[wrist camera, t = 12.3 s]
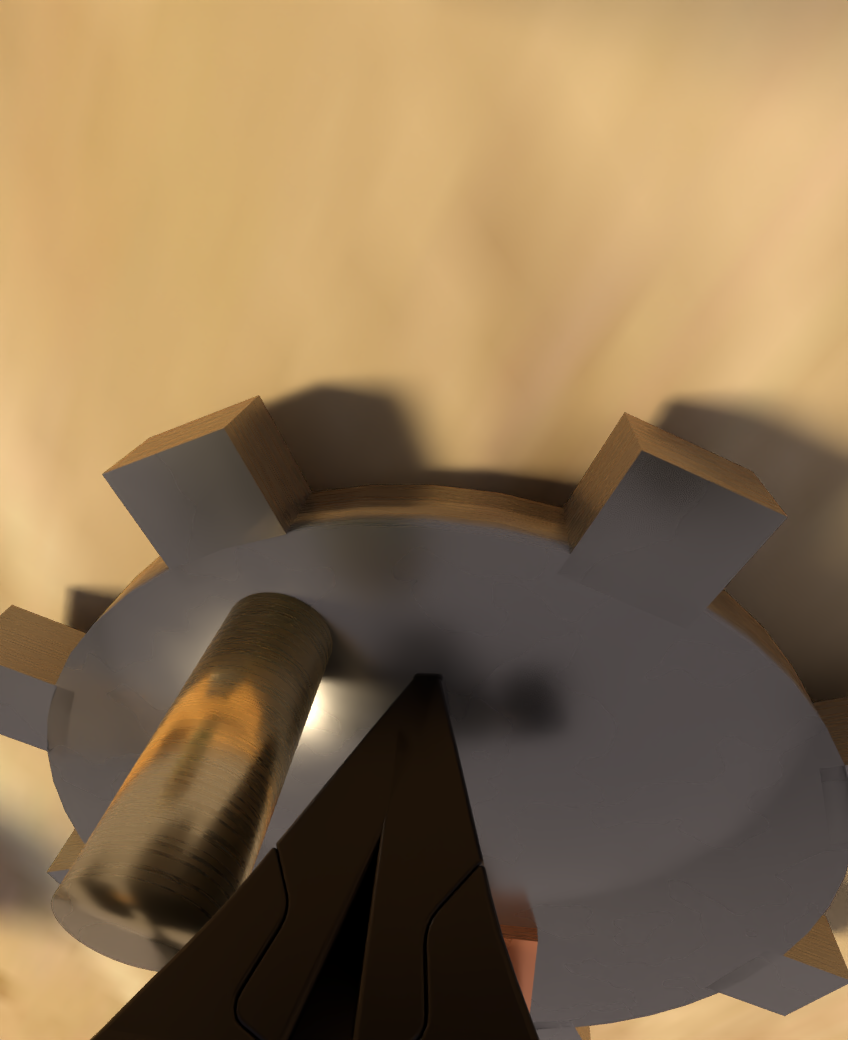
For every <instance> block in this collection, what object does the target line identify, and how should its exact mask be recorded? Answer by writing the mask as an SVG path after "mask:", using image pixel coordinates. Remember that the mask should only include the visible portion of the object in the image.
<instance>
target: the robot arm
mask: <svg viewBox="0 0 848 1040" xmlns="http://www.w3.org/2000/svg"><path fill="white" fill-rule="evenodd" d="M276 847H277V849H276V848H272V849H271V850H270V851H269V852H268V854H267V855H266V856H265V857H264V858H263V860H262V861H261V862H260V863H259V864H258V866H257V867H256V868H255V869H254V870H253V872H252V873H251V874H250V875H249V876H248V877H247V878H246V880H245V881H244V882H243V883H242V884H241V885H240V886H239V888H238V889H237V890H236V891H235V892H234V893H233V894H232V896H231V897H230V898H229V899H228V900H227V901H226V903H225V904H224V905H223V906H222V907H221V908H220V909H219V910H218V911H217V912H216V913H215V914H214V915H213V916H212V917H211V918H210V919H209V920H208V922H207V923H206V924H205V925H204V926H203V927H202V928H201V929H200V930H199V931H198V932H197V933H196V934H195V935H194V936H193V937H192V938H191V939H190V940H189V941H188V942H187V943H186V944H185V945H184V946H183V947H182V948H181V949H180V950H179V951H178V952H177V953H176V954H175V955H174V957H173V958H172V959H171V960H170V961H169V962H168V963H167V964H166V965H165V966H164V967H163V968H162V969H161V970H160V971H159V972H158V973H157V974H156V975H155V976H154V977H153V978H152V979H151V980H150V981H149V982H148V983H147V984H146V985H145V986H144V987H143V988H142V989H141V990H140V991H139V992H138V993H137V994H136V995H135V996H134V997H133V998H132V999H131V1000H130V1001H129V1002H128V1003H127V1004H126V1005H125V1006H124V1007H123V1008H122V1009H121V1010H120V1011H119V1012H118V1013H117V1014H116V1015H115V1016H114V1017H113V1018H112V1019H111V1020H110V1021H109V1022H108V1023H107V1024H106V1025H105V1026H104V1027H103V1028H102V1029H101V1030H100V1031H99V1032H98V1033H97V1034H96V1035H94V1036H93V1037H92V1038H91V1039H90V1040H540V1039H539V1037H538V1034H537V1031H536V1029H535V1026H534V1023H533V1020H532V1018H531V1015H530V1012H529V1010H528V1007H527V1004H526V1002H525V999H524V996H523V994H522V991H521V988H520V985H519V983H518V980H517V977H516V974H515V971H514V968H513V965H512V962H511V959H510V956H509V953H508V950H507V947H506V944H505V941H504V938H503V935H502V931H501V927H500V924H499V920H498V916H497V913H496V909H495V905H494V901H493V898H492V894H491V889H490V885H489V881H488V876H487V872H486V868H485V867H484V860H483V856H482V852H481V847H480V843H479V839H478V834H477V830H476V826H475V821H474V817H473V813H472V808H471V804H470V800H469V795H468V791H467V787H466V782H465V778H464V774H463V769H462V765H461V761H460V756H459V752H458V748H457V744H456V739H455V735H454V731H453V726H452V722H451V718H450V706H449V699H448V692H447V685H446V679H445V676H444V675H443V674H442V673H426V672H418V673H416V674H414V676H413V678H412V680H411V681H410V683H409V684H408V685H407V686H406V687H405V689H404V690H403V691H402V692H401V693H400V695H399V696H398V697H397V698H396V699H395V701H394V702H393V703H392V704H391V706H390V707H389V708H388V709H387V710H386V712H385V713H384V714H383V715H382V716H381V718H380V719H379V720H378V721H377V722H376V724H375V725H374V726H373V727H372V728H371V730H370V731H369V732H368V733H367V734H366V736H365V737H364V738H363V739H362V740H361V742H360V743H359V744H358V745H357V747H356V748H355V749H354V750H353V751H352V753H351V754H350V755H349V756H348V757H347V759H346V760H345V761H344V762H343V763H342V765H341V766H340V767H339V768H338V769H337V771H336V772H335V773H334V774H333V775H332V777H331V778H330V779H329V780H328V781H327V783H326V784H325V785H324V786H323V788H322V789H321V790H320V791H319V792H318V794H317V795H316V796H315V797H314V798H313V800H312V801H311V802H310V803H309V804H308V806H307V807H306V808H305V809H304V810H303V812H302V813H301V814H300V815H299V816H298V818H297V819H296V820H295V821H294V823H293V824H292V825H291V826H290V827H289V829H288V830H287V831H286V832H285V833H284V835H283V836H282V837H281V838H280V839H279V841H278V842H277V843H276Z"/></svg>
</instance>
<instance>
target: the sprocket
mask: <svg viewBox="0 0 848 1040" xmlns="http://www.w3.org/2000/svg"><path fill="white" fill-rule="evenodd" d="M102 475H103V476H104V478H105V479H106V480H107V482H108V483H109V485H110V486H111V487H112V489H113V490H114V492H115V493H116V494H117V496H118V497H119V499H120V500H121V501H122V503H123V504H124V506H125V507H126V509H127V510H128V511H129V513H130V514H131V516H132V517H133V518H134V520H135V521H136V523H137V524H138V525H139V527H140V528H141V530H142V531H143V532H144V534H145V535H146V537H147V538H148V539H149V541H150V542H151V544H152V545H153V547H154V548H155V549H156V551H157V552H158V554H159V555H160V556H159V557H158V558H157V559H156V560H155V561H154V562H152V563H151V564H150V565H149V566H148V567H147V568H146V569H144V570H143V571H142V572H141V573H140V574H139V575H137V576H136V577H135V578H134V579H133V581H132V582H131V583H130V584H129V585H128V586H127V587H126V588H125V589H124V591H123V592H122V593H121V594H120V595H119V596H118V597H117V598H116V599H115V601H114V602H113V603H112V604H111V605H110V606H109V607H108V608H107V609H106V611H105V612H104V613H103V614H102V615H101V616H100V617H99V618H98V619H97V621H96V622H95V623H94V624H93V625H92V627H91V628H90V629H89V630H88V632H87V633H84V632H82V631H79V630H76V629H74V628H71V627H69V626H66V625H63V624H61V623H58V622H55V621H53V620H50V619H48V618H45V617H42V616H40V615H37V614H35V613H32V612H29V611H27V610H24V609H21V608H19V607H16V606H14V605H11V606H10V607H9V608H8V609H7V610H6V611H5V612H4V613H2V614H1V615H0V734H1V735H4V736H7V737H10V738H12V739H15V740H18V741H21V742H23V743H26V744H29V745H32V746H35V747H37V748H40V749H43V750H46V751H47V752H48V757H49V762H50V767H51V772H52V777H53V782H54V784H55V787H56V789H57V792H58V794H59V797H60V800H61V802H62V805H63V807H64V810H65V812H66V814H67V815H68V817H69V819H70V821H71V822H72V824H73V826H74V827H75V829H74V831H73V833H72V834H71V836H70V837H69V839H68V840H67V842H66V843H65V845H64V846H63V848H62V849H61V851H60V853H59V854H58V856H57V857H56V859H55V860H54V862H53V863H52V865H51V866H50V868H49V869H48V871H47V873H48V874H49V875H50V876H51V877H53V878H54V879H55V880H56V881H57V882H58V883H59V884H60V886H59V887H58V889H57V890H56V892H55V894H54V895H53V898H52V910H53V913H54V915H55V917H56V919H57V920H58V922H59V923H60V925H61V926H62V927H63V928H64V929H65V930H66V931H67V932H68V933H69V934H70V935H72V936H73V937H74V938H75V939H77V940H78V941H79V942H81V943H83V944H84V945H86V946H87V947H89V948H91V949H92V950H94V951H96V952H98V953H100V954H102V955H104V956H106V957H109V958H111V959H113V960H116V961H119V962H121V963H124V964H127V965H131V966H134V967H138V968H142V969H146V970H151V971H157V972H159V971H160V970H161V969H162V968H163V967H164V966H165V965H166V964H167V963H168V962H169V961H170V960H171V959H172V958H173V957H174V955H175V954H176V953H177V952H178V951H179V950H180V949H181V948H182V947H183V946H184V945H185V944H186V943H187V942H188V941H189V940H190V939H191V938H192V937H193V936H194V935H195V934H196V933H197V932H198V931H199V930H200V929H201V928H202V927H203V926H204V925H205V924H206V923H207V922H208V920H209V919H210V918H211V917H212V916H213V915H214V914H215V913H216V912H217V911H218V910H219V909H220V908H221V907H222V906H223V905H224V904H225V903H226V901H227V900H228V899H229V898H230V897H231V896H232V894H233V893H234V892H235V891H236V890H237V889H238V888H239V886H240V885H241V884H242V883H243V882H244V881H245V880H246V878H247V877H248V876H249V875H250V874H251V873H252V872H253V870H254V869H255V868H256V867H257V866H258V864H259V863H260V862H261V861H262V860H263V858H264V857H265V856H266V855H267V854H268V852H269V851H270V850H271V849H272V848H276V849H277V847H276V843H277V842H278V841H279V839H280V838H281V837H282V836H283V835H284V833H285V832H286V831H287V830H288V829H289V827H290V826H291V825H292V824H293V823H294V821H295V820H296V819H297V818H298V816H299V815H300V814H301V813H302V812H303V810H304V809H305V808H306V807H307V806H308V804H309V803H310V802H311V801H312V800H313V798H314V797H315V796H316V795H317V794H318V792H319V791H320V790H321V789H322V788H323V786H324V785H325V784H326V783H327V781H328V780H329V779H330V778H331V777H332V775H333V774H334V773H335V772H336V771H337V769H338V768H339V767H340V766H341V765H342V763H343V762H344V761H345V760H346V759H347V757H348V756H349V755H350V754H351V753H352V751H353V750H354V749H355V748H356V747H357V745H358V744H359V743H360V742H361V740H362V739H363V738H364V737H365V736H366V734H367V733H368V732H369V731H370V730H371V728H372V727H373V726H374V725H375V724H376V722H377V721H378V720H379V719H380V718H381V716H382V715H383V714H384V713H385V712H386V710H387V709H388V708H389V707H390V706H391V704H392V703H393V702H394V701H395V699H396V698H397V697H398V696H399V695H400V693H401V692H402V691H403V690H404V689H405V687H406V686H407V685H408V684H409V683H410V681H411V680H412V678H413V676H414V674H416V673H418V672H426V673H442V674H443V675H444V676H445V679H446V685H447V692H448V699H449V706H450V718H451V722H452V726H453V731H454V735H455V739H456V744H457V748H458V752H459V756H460V761H461V765H462V769H463V774H464V778H465V782H466V787H467V791H468V795H469V800H470V804H471V808H472V813H473V817H474V821H475V826H476V830H477V834H478V839H479V843H480V847H481V852H482V856H483V860H484V867H485V868H486V872H487V876H488V881H489V885H490V889H491V894H492V898H493V901H494V905H495V909H496V913H497V916H498V920H499V924H500V927H501V931H502V935H503V938H504V941H505V944H506V947H507V950H508V953H509V956H510V959H511V962H512V965H513V968H514V971H515V974H516V977H517V980H518V983H519V985H520V988H521V991H522V994H523V996H524V999H525V1002H526V1004H527V1007H528V1010H529V1012H530V1015H531V1018H532V1020H533V1023H534V1026H535V1029H536V1031H537V1034H538V1037H539V1039H540V1040H591V1039H590V1028H589V1026H591V1025H599V1024H608V1023H614V1022H619V1021H625V1020H630V1019H635V1018H640V1017H645V1016H650V1015H653V1014H657V1013H660V1012H664V1011H667V1010H671V1009H675V1008H678V1007H682V1006H685V1005H688V1004H691V1003H693V1002H696V1001H698V1000H701V999H704V998H706V997H709V996H712V995H714V994H717V993H722V994H725V995H728V996H730V997H733V998H736V999H739V1000H741V1001H744V1002H747V1003H750V1004H753V1005H755V1006H758V1007H761V1008H764V1009H767V1010H769V1011H772V1012H775V1013H778V1014H780V1015H783V1016H786V1015H788V1014H789V1013H791V1012H793V1011H795V1010H797V1009H799V1008H801V1007H803V1006H805V1005H807V1004H809V1003H811V1002H813V1001H815V1000H817V999H819V998H821V997H823V996H825V995H827V994H829V993H831V992H833V991H835V990H837V989H839V988H841V987H843V986H845V985H847V984H848V969H847V966H846V964H845V962H844V959H843V957H842V955H841V952H840V950H839V947H838V945H837V943H836V940H835V938H834V935H833V933H832V931H831V928H830V926H829V923H828V921H827V919H826V916H825V915H823V914H824V912H825V911H826V910H827V909H828V907H829V906H830V904H831V902H832V900H833V898H834V896H835V894H836V893H837V891H838V889H839V887H840V885H841V883H842V881H843V879H844V877H845V875H846V871H847V867H848V697H843V698H837V699H831V700H825V701H818V702H812V700H811V699H810V697H809V695H808V693H807V691H806V690H805V688H804V686H803V684H802V682H801V681H800V679H799V677H798V675H797V674H796V672H795V670H794V668H793V666H792V665H791V663H790V662H789V661H788V659H787V658H786V657H785V655H784V654H783V653H782V651H781V650H780V649H779V647H778V646H777V645H776V643H775V642H774V641H773V639H772V638H771V637H770V635H769V634H768V633H767V631H766V630H765V629H764V627H763V626H762V625H760V624H759V623H758V622H757V621H756V620H755V619H754V618H753V617H752V616H751V615H750V614H749V613H748V612H747V611H746V610H745V609H744V608H743V607H742V606H741V605H740V604H739V603H737V602H736V601H735V600H734V599H733V598H732V597H731V596H730V595H729V594H728V593H727V592H726V591H724V590H723V589H724V588H725V587H726V585H727V584H728V583H729V582H730V581H731V580H732V579H733V578H734V577H735V575H736V574H737V573H738V572H739V571H740V570H741V569H742V568H743V567H744V565H745V564H746V563H747V562H748V561H749V560H750V559H751V558H752V556H753V555H754V554H755V553H756V552H757V551H758V550H759V549H760V548H761V546H762V545H763V544H764V543H765V542H766V541H767V540H768V539H769V538H770V536H771V535H772V534H773V533H774V532H775V531H776V530H777V529H778V527H779V526H780V525H781V524H782V523H783V522H784V521H785V520H786V519H787V517H788V516H787V515H786V514H785V513H784V511H783V510H782V509H781V507H780V506H779V505H778V504H777V502H776V501H775V500H774V498H773V497H772V496H771V495H770V493H769V492H768V491H767V489H766V488H765V487H764V486H763V484H762V483H761V482H760V480H759V479H758V478H757V477H756V475H755V474H754V473H753V472H752V471H750V470H748V469H746V468H744V467H742V466H740V465H737V464H735V463H733V462H731V461H729V460H727V459H724V458H722V457H720V456H718V455H716V454H714V453H712V452H709V451H707V450H705V449H703V448H701V447H699V446H696V445H694V444H692V443H690V442H688V441H686V440H683V439H681V438H679V437H677V436H675V435H673V434H671V433H668V432H666V431H664V430H662V429H660V428H658V427H655V426H653V425H651V424H649V423H647V422H645V421H642V420H640V419H638V418H636V417H634V416H632V415H629V414H627V413H624V414H623V416H622V417H621V419H620V420H619V422H618V424H617V425H616V427H615V428H614V430H613V431H612V433H611V434H610V436H609V437H608V439H607V441H606V442H605V444H604V445H603V447H602V448H601V450H600V451H599V453H598V455H597V456H596V458H595V459H594V461H593V462H592V464H591V465H590V467H589V469H588V470H587V472H586V473H585V475H584V476H583V478H582V479H581V481H580V482H579V484H578V486H577V487H576V489H575V490H574V492H573V493H572V495H571V496H570V498H569V500H568V501H567V503H566V504H565V506H564V507H563V508H561V507H557V506H553V505H549V504H545V503H541V502H536V501H532V500H528V499H524V498H520V497H516V496H511V495H507V494H503V493H497V492H489V491H481V490H472V489H464V488H455V487H447V486H439V485H366V486H357V487H349V488H341V489H332V490H324V491H315V492H311V490H310V488H309V486H308V484H307V483H306V481H305V479H304V477H303V475H302V473H301V472H300V470H299V468H298V466H297V464H296V462H295V460H294V459H293V457H292V455H291V453H290V451H289V449H288V448H287V446H286V444H285V442H284V440H283V438H282V437H281V435H280V433H279V431H278V429H277V427H276V425H275V424H274V422H273V420H272V418H271V416H270V414H269V413H268V411H267V409H266V407H265V405H264V403H263V402H262V400H261V398H260V396H259V395H258V396H256V397H253V398H251V399H248V400H245V401H243V402H240V403H238V404H235V405H233V406H230V407H227V408H225V409H222V410H220V411H217V412H215V413H212V414H209V415H207V416H204V417H202V418H199V419H197V420H194V421H191V422H189V423H186V424H184V425H181V426H179V427H176V428H174V429H171V430H168V431H166V432H163V433H161V434H158V435H156V436H153V437H150V438H149V439H147V440H146V441H145V442H143V443H142V444H141V445H139V446H138V447H137V448H135V449H134V450H133V451H132V452H130V453H129V454H128V455H126V456H125V457H124V458H122V459H121V460H120V461H119V462H117V463H116V464H115V465H113V466H112V467H111V468H109V469H108V470H107V471H106V472H104V473H103V474H102Z"/></svg>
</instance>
